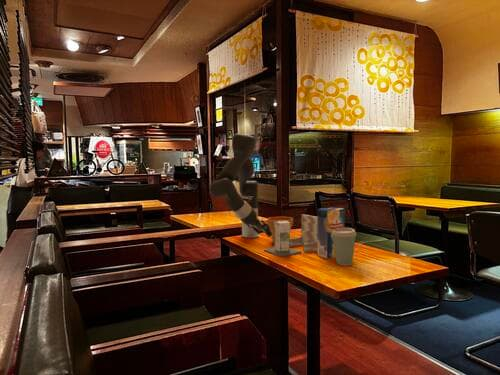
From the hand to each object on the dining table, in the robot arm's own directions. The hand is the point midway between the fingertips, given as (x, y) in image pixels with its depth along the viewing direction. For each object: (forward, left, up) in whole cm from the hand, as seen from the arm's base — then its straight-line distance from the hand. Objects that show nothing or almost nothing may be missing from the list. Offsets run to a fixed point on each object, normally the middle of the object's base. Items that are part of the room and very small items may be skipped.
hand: (265, 234), depth 168 cm
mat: (0, +10, -10) cm, 15 cm away
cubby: (0, +24, -10) cm, 26 cm away
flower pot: (-19, +24, -11) cm, 33 cm away
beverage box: (+18, +25, -11) cm, 33 cm away
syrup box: (0, +10, -10) cm, 14 cm away
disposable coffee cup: (+31, +19, -11) cm, 38 cm away
